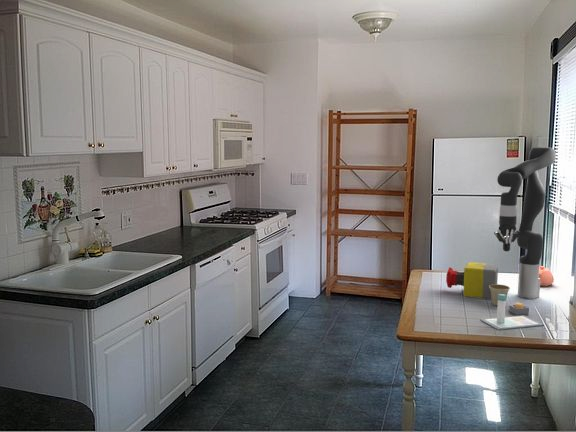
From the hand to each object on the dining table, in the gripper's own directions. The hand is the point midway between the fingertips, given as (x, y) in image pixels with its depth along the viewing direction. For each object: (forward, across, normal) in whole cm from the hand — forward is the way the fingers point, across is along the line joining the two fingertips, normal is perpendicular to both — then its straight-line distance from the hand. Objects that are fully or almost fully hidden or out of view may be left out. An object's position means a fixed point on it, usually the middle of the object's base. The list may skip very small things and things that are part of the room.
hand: (506, 251), depth 257 cm
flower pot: (+27, 0, -4) cm, 27 cm away
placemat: (+27, +11, +22) cm, 36 cm away
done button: (+27, -1, +10) cm, 29 cm away
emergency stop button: (+27, +3, -24) cm, 36 cm away
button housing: (+27, -1, +10) cm, 29 cm away
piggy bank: (+27, -43, -29) cm, 59 cm away
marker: (+26, +16, +21) cm, 37 cm away
